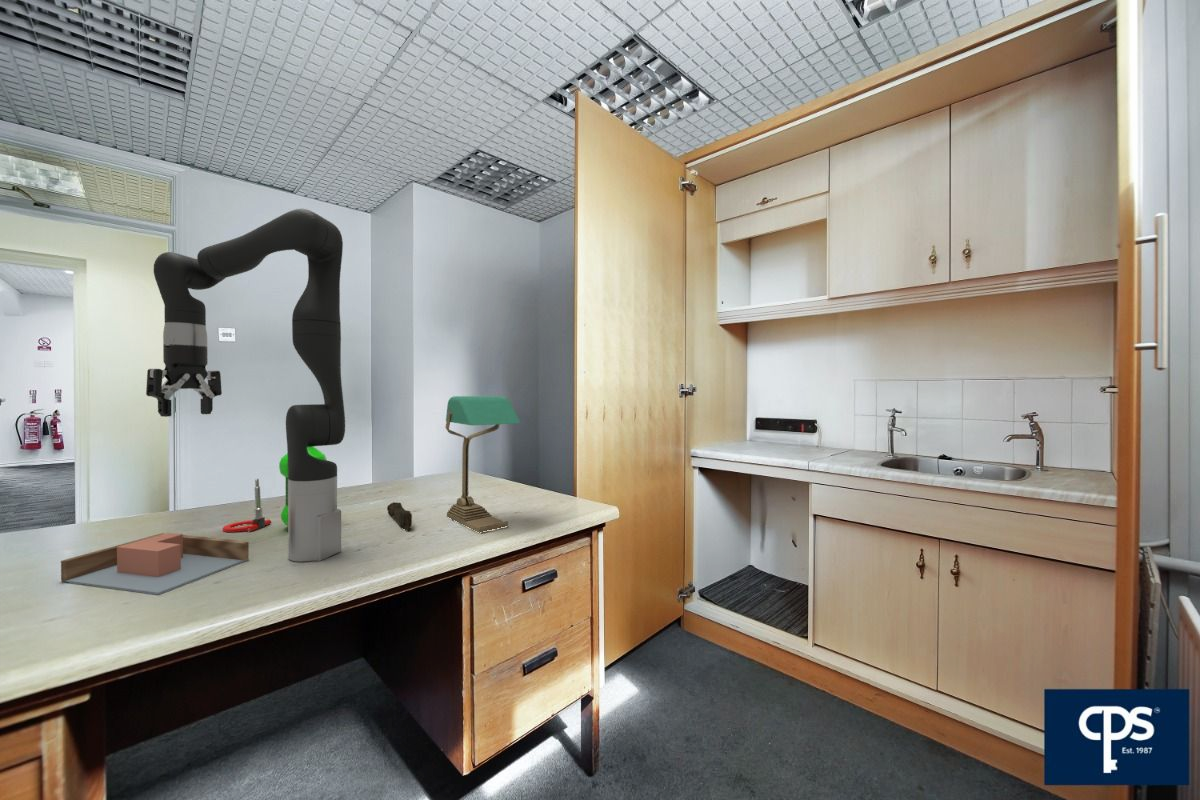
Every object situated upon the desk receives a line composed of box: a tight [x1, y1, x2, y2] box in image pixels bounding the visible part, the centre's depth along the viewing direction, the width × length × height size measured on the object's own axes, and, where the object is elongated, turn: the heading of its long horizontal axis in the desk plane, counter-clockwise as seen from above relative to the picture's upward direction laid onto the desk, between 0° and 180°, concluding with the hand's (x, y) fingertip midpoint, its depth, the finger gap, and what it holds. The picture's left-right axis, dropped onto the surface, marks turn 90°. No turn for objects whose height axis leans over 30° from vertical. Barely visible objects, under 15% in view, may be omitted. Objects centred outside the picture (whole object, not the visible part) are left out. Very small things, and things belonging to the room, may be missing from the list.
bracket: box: [117, 532, 184, 577], centre depth 94 cm, size 9×10×5 cm
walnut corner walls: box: [60, 532, 250, 583], centre depth 93 cm, size 23×17×4 cm
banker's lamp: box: [445, 395, 522, 534], centre depth 128 cm, size 16×21×35 cm
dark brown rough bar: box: [386, 502, 413, 532], centre depth 127 cm, size 19×4×5 cm, turn 32°
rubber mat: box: [60, 554, 249, 596], centre depth 93 cm, size 23×17×1 cm
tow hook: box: [222, 478, 272, 533], centre depth 121 cm, size 8×13×9 cm
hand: (186, 415), depth 106 cm, fingers open, 8 cm apart
